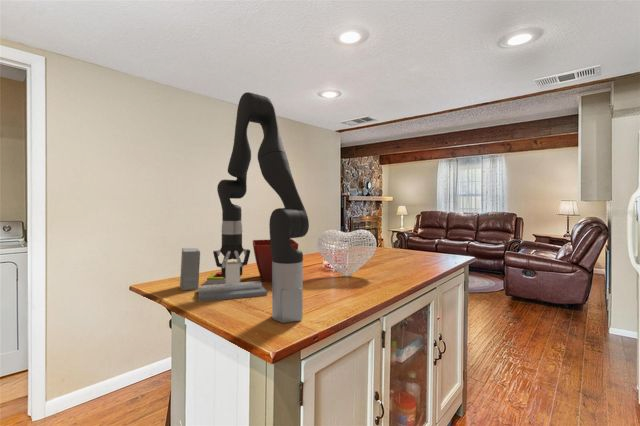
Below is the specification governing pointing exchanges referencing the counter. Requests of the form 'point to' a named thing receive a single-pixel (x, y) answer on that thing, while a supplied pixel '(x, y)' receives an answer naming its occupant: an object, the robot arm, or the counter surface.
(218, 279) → the emergency button
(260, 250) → the plant pot
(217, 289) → the rail
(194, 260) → the skincare box
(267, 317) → the counter surface
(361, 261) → the heart
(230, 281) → the block
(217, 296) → the rail board
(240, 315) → the counter surface
